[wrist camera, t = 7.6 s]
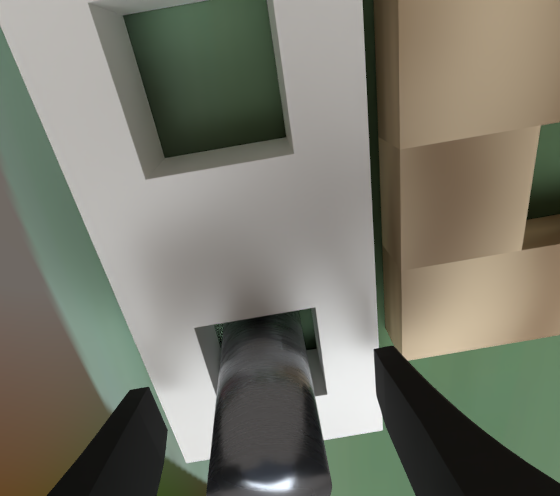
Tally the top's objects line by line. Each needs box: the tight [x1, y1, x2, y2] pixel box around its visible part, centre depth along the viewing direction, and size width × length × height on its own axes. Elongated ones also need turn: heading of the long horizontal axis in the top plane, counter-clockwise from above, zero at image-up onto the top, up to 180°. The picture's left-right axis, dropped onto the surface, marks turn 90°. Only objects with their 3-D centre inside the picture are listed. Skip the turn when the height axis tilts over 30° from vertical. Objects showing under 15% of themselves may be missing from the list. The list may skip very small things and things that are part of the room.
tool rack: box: [0, 0, 383, 463], centre depth 12 cm, size 8×18×2 cm, turn 9°
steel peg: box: [207, 310, 332, 496], centre depth 12 cm, size 3×3×7 cm
